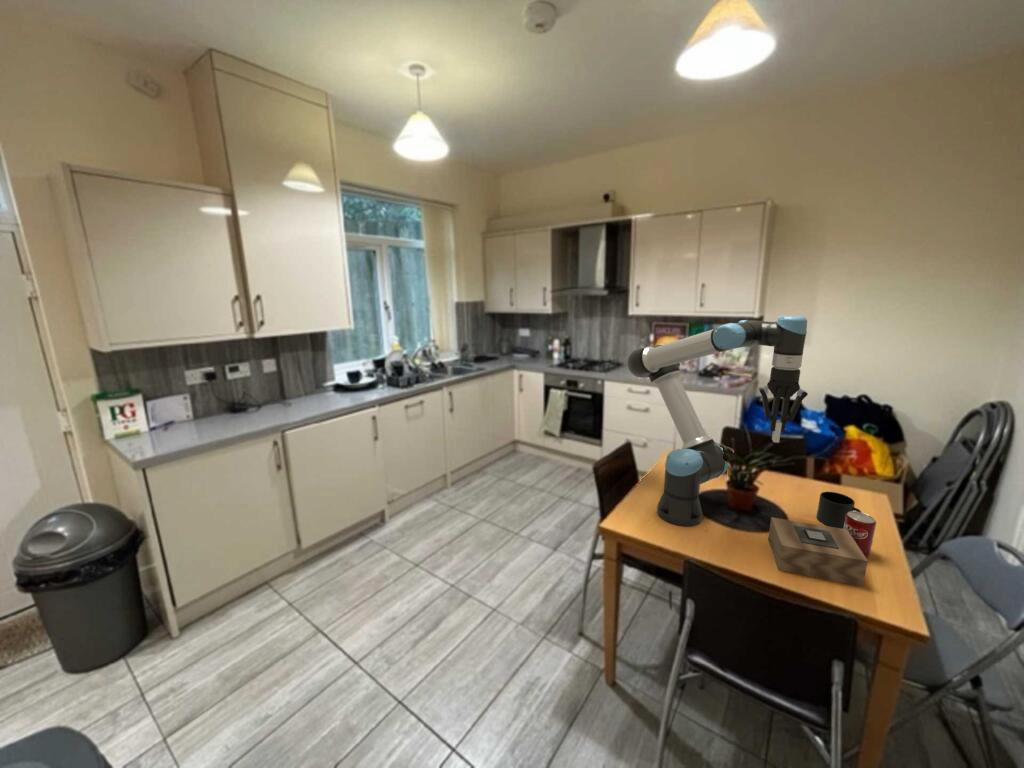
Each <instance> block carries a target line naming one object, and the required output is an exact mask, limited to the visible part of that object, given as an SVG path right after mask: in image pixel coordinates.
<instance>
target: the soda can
mask: <svg viewBox="0 0 1024 768" xmlns="http://www.w3.org/2000/svg"><path fill="white" fill-rule="evenodd" d="M876 526H877V521H876V520H875V518H874V517H873V516H871V515H870V514H867V513H864V512H862V511H861V512H857V511H854V510H853V511H850V512H848V513H846V515H845V520H844V526H843V529H847V530H848V532H849V533H850V535H851V536H852V538H853V539H854V541H855V542H856V544H857V545H858V547H859V548H860V550H861V551H862V553H863V554H864V556H865V557H866V558H868V557H870V555H871V550H872V545H873V540H874V536H875V532H876Z"/></svg>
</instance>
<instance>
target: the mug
mask: <svg viewBox="0 0 1024 768" xmlns="http://www.w3.org/2000/svg"><path fill="white" fill-rule="evenodd" d="M850 511H857V512H862V511H861V510H860V509H859V508H856V507H855V500H854V499H853V498H851V497H850V496H848V495H846V494H843V493H839V492H835V491H823V492H821V493H820V494H819V500H818V506H817V512H816V519H817V520H818V521H819V522H820V523H822V524H823V525H824V526H829V527H835V528H841V529H843V526H844V520H845V515H846V513H848V512H850Z"/></svg>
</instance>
